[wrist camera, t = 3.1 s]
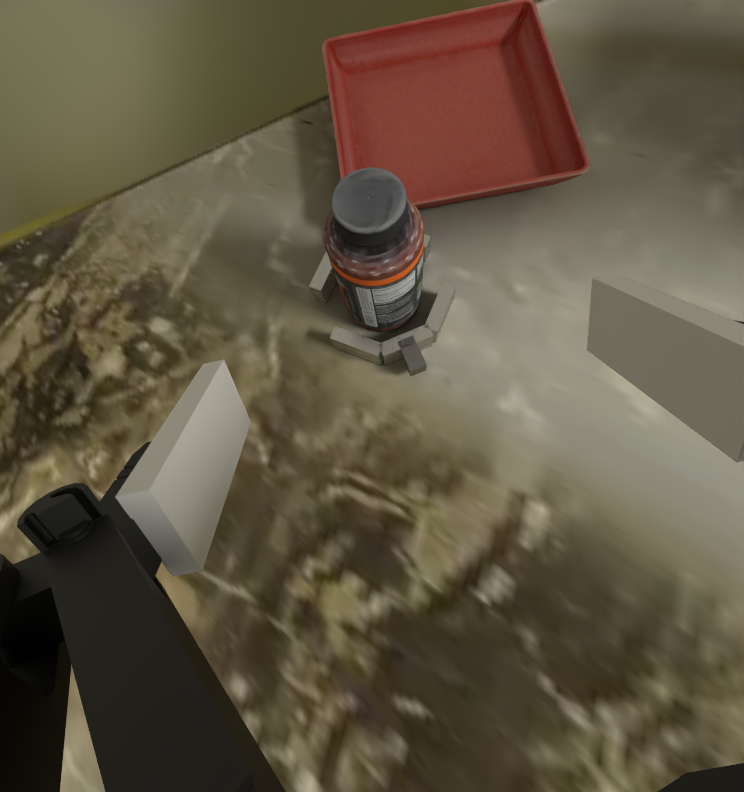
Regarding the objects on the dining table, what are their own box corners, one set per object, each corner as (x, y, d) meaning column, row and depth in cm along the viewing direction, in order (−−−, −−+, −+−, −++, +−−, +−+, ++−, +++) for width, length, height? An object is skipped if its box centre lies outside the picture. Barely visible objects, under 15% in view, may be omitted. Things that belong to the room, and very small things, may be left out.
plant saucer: (327, 75, 38) (319, 35, 34) (523, 35, 37) (533, -9, 34) (351, 243, 33) (345, 216, 30) (575, 203, 32) (594, 171, 29)
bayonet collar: (407, 206, 34) (406, 188, 32) (479, 350, 30) (484, 341, 28) (296, 252, 34) (289, 237, 32) (356, 401, 30) (352, 395, 28)
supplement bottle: (339, 274, 33) (303, 162, 22) (412, 257, 32) (412, 136, 22) (353, 342, 31) (321, 259, 20) (429, 325, 31) (438, 231, 20)
